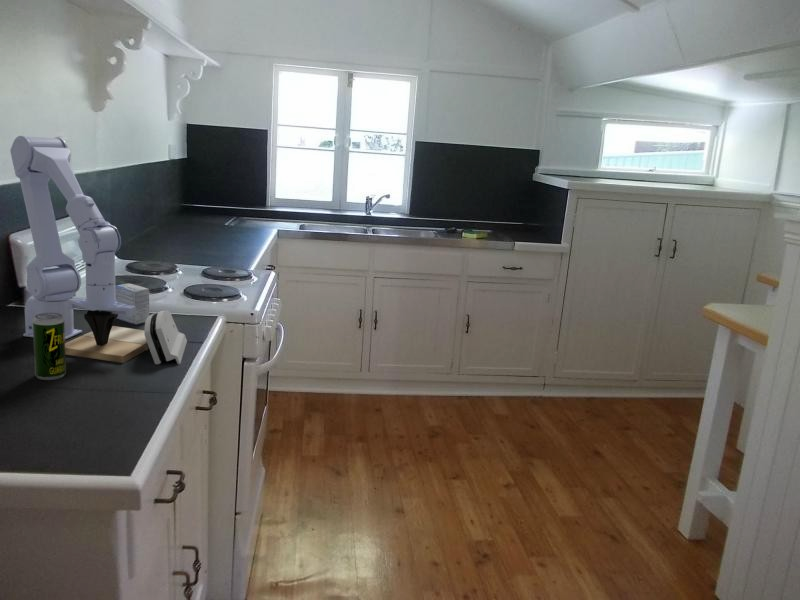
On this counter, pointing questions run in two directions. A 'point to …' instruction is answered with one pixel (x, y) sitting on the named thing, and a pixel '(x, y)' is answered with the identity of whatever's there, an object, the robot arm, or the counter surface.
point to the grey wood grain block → (133, 302)
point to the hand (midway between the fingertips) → (102, 344)
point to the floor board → (126, 336)
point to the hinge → (164, 337)
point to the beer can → (49, 346)
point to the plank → (103, 349)
